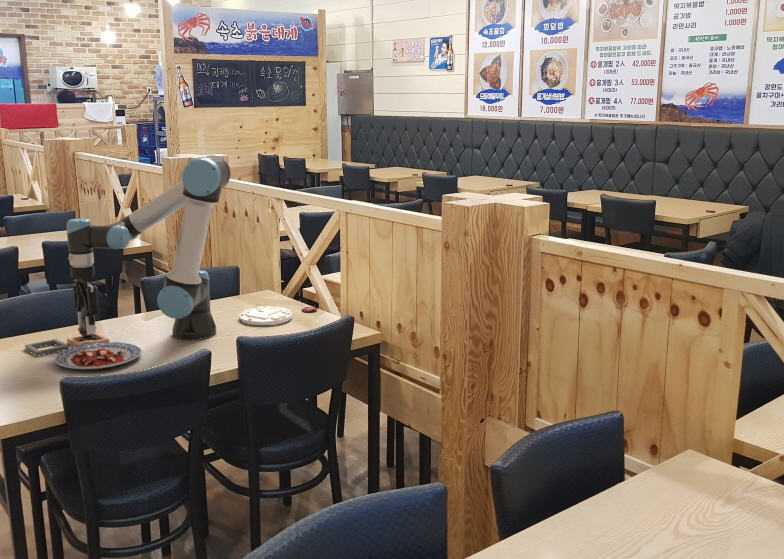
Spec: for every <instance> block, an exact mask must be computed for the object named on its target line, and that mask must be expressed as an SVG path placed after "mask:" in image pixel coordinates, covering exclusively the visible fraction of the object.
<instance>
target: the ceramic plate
mask: <svg viewBox="0 0 784 559" xmlns="http://www.w3.org/2000/svg"><path fill="white" fill-rule="evenodd" d="M141 354H142V349H141V347H139V346H137V345H135V344H132V343H126V342H118V341H117V342H115V341H109V342H104V343H93V344H87V345H81V346H77V347H74V346H72V347H70V348H69V349H68V350H65V351H61V352H59V353H58V354H57V355H56V356H55V358H54V362H55V363H56V364H57V365H58V366H61V367H64V368H67V369H74V370H75V369H76V370H99V369H106V368H113V367H115V366H119V365H123V364H125V363H126V364H127V363H129V362H131V361H134V360H135V359H137V358H138V357H139V356H141Z"/></svg>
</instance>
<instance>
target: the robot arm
mask: <svg viewBox="0 0 784 559" xmlns="http://www.w3.org/2000/svg"><path fill="white" fill-rule="evenodd" d="M231 176H232V173H231V167H230V165H229V164H228V163H227V161H226V160H225V159H224V158H223V157H220V156H218V155H215V154H214V155H207V156H199V157H197V158H196V157H195V158H194V159H192V160H191V161H189V162H188V163H187V164H186V165H185V166H184V168H183V170H182V175H181V180H180V181H179V182H177V183H176V184H174V185H172V186H171V187H170V188H169V189H167V190H165V191H163V192H162V193H160V194H159V195H158V196H156V197H154V198H153V199H151V200H150V201H148V202H147V203H145V204H144V205H141V207H139V208H137V209H135V210H134V211H133V212H131V213H130V214H128V215H126V216H125V217H123V218H122V219H120V220H118V221H116V222H113V223H111V224H107V225H95V224H94V225H93V224H92V221H91V219H89V218H80V217H79V218H72V219H69V220H68V221H67V222H66V235H67V245H68V258H67V260H69V265H70V267H69V272H70V277H71V278H72V281H71V285H72V292H73V293H72V295H73V307H74V309H75V310H76V311H77V319H78V320H77V321H78V328H80V327H81V326H82V319H81V317H82V315H81V309H82V308H83V307H85V308H86V313H87V315H85V317H86V327H87V335H90V334H95V333H97V330H96V329H97V327H96V317H95V316H97V315H98V305H97V297H96V295H97V293H96V289H97V286H96V285H92V284H93V283H92V280H91V278H92V277H94V276H95V274H96V273H95V272H96V270H95V265H94V263H95V256H94V249H108V250H109V249H113V250H119V249H123V250H124V249H126V248H127V247H128V245H129V244H130V242H131V241H133V240H135V239H136V238H138V236H139V235H141V234H143V233H144V232H146V231H147V230H149V229H150V228H152V227H154V226H155V225H157V224H158V223H160V222H161V221H162V220H164V219H166V218H168V217H169V216H170V215H172V214H174V213H176V212H177V211H178V210H180V209H181V208H184V210H183V214H182V220H181V223H180V229H179V232H178V233H179V234H178V239H177V244H176V248H175V249H176V250H175V254H174V259H173V263H172V264H173V265H172V268H171V270H170V271H168V272H167V273H166V275H165V280H164V284H163V288H162V289H161V290H160V291H159V293H158V294H157V299H156V300H157V307H158V308H159V310H160V312H162V314H163V315H165V316H166V317H168V318H171V319H174V322H173V325H172V331H171V332H172V337H174V338H176V339H179V340H185V339H186V340H188V341H189V340H190V341H191V340H193V339H195V340H201V339H200V338H203V339H206V338H205V337H208V338H210V337H209V336H211V337H213V336H215V335H216V334H217V325H216V323H215V320H214V317H213V315H212V312H211V298H210V297H211V294H210V293H211V292H210V277H209V273H208V271H206V270H201V264H202V259H203V254H204V249H205V246H206V240H207V235H208V231H209V226H210V222H211V216H212V212H213V207H214V206H216V205H217V204H218V203H219V201H220V197H221V192H222V189H223V188H225V187H226V186H227V185H228V184H229V181H230V180H231ZM84 305H85V306H84ZM95 327H96V328H95ZM215 333H216V334H215ZM214 334H215V335H214ZM212 335H213V336H212ZM186 340H185V341H186Z"/></svg>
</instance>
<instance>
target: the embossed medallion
mask: <svg viewBox="0 0 784 559" xmlns="http://www.w3.org/2000/svg"><path fill="white" fill-rule="evenodd" d="M238 318H239V319H240V320H241V321H242V322H241V321H240V320H239V321H240V322H241V323H243V322H244V323H243V324H245V323H248V324H247V325H249V324H251V325H250V326H278V325H279V324H281V325H282V323H283V324H286V323H285V322H287V323H288V321H290V319H291V320H292V318H293V312H292V310H290V309H289V308H287V307H282V306H275V307H274V306H272V305H267V306H265V307H264V306H261V305H260V306H256V307H255V308H248V309H244V310H243V311H242V312H240V313H239V315H238Z"/></svg>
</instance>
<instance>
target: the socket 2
mask: <svg viewBox="0 0 784 559" xmlns="http://www.w3.org/2000/svg"><path fill="white" fill-rule="evenodd" d="M93 335H94V336H96V339H95V340H90V341H87V342H82V343H81V341H80V338H81V337H82V335H81V334H80V335H77V336H72V337H67V338H66V343H67V342H69V343H70V344H69V343H68V344H69V345H71V344H72V345H71V346H73V345H74V346H75V347H77V346H81V345H87V344H93V343H104V342H110V338H108V337H106V336H104V335H102V334H100V333H99V332H96V333H95V334H93ZM74 346H73V347H74Z"/></svg>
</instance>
